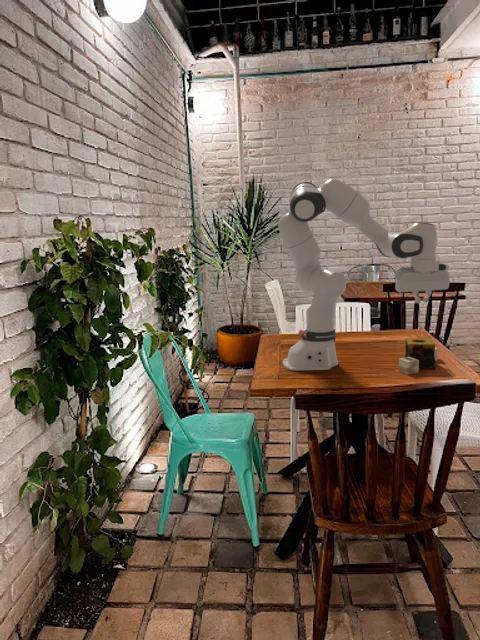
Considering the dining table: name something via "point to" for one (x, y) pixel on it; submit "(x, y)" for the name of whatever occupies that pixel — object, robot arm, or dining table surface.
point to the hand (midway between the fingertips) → (421, 302)
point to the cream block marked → (436, 353)
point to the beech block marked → (408, 365)
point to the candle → (421, 351)
